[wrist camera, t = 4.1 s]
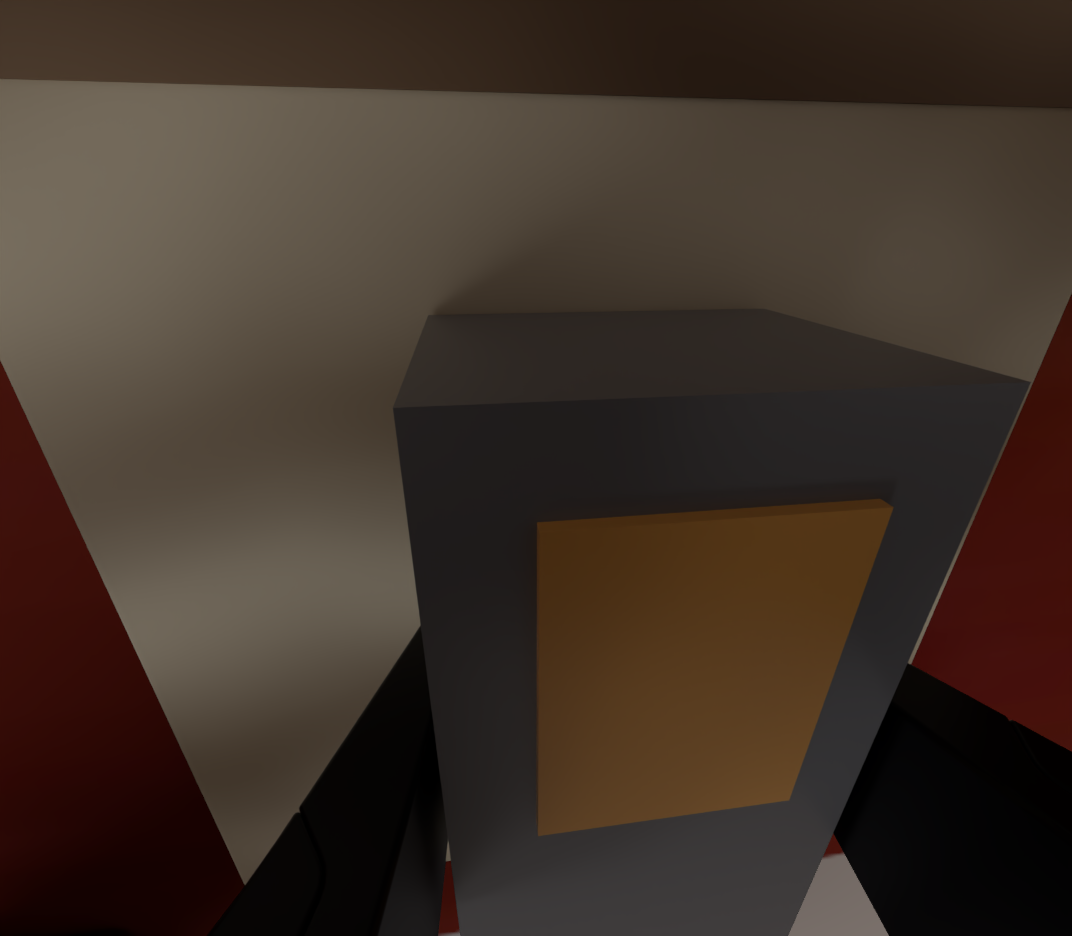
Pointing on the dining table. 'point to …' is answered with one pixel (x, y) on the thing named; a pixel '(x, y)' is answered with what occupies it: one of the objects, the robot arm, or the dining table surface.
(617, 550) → the block
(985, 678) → the dining table surface
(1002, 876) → the robot arm
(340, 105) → the board
